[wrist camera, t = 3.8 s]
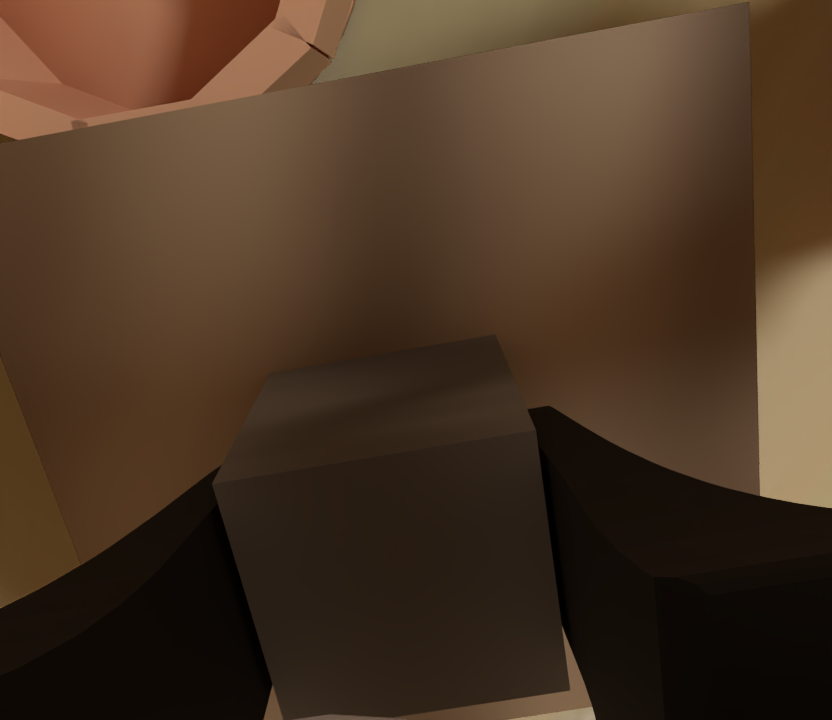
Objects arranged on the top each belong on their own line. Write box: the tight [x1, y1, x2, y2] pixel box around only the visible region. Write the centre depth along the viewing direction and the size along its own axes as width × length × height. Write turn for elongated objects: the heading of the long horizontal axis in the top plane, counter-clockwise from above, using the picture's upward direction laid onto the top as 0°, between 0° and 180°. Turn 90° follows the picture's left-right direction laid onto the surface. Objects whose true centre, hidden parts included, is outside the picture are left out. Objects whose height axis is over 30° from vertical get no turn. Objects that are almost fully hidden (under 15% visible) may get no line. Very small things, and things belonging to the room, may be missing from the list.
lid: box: [0, 2, 760, 720], centre depth 12 cm, size 13×13×5 cm
